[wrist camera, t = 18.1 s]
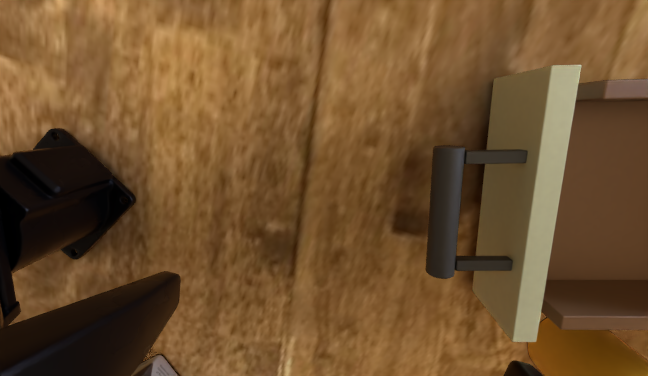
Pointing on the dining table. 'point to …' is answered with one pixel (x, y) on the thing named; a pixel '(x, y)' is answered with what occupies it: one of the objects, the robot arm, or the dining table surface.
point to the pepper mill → (583, 353)
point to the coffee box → (155, 368)
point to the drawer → (553, 204)
